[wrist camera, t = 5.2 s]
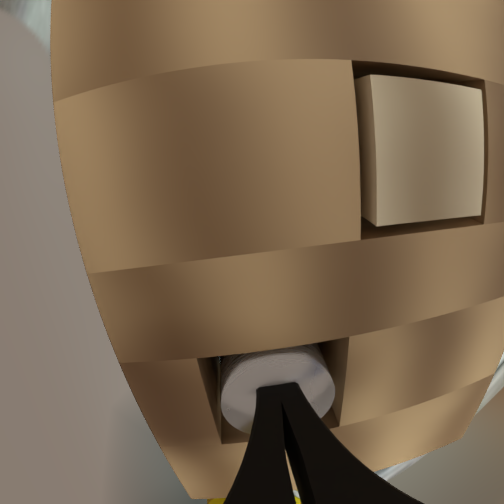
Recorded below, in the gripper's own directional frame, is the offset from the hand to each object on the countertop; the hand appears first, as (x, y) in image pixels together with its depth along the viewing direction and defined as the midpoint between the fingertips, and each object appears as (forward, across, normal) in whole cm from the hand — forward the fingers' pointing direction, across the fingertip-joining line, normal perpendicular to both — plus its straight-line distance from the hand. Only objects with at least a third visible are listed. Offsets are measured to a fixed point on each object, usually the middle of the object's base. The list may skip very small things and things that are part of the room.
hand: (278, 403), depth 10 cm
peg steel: (+5, 0, 0) cm, 5 cm away
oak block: (+5, -3, -3) cm, 7 cm away
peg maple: (+5, -5, -8) cm, 11 cm away
